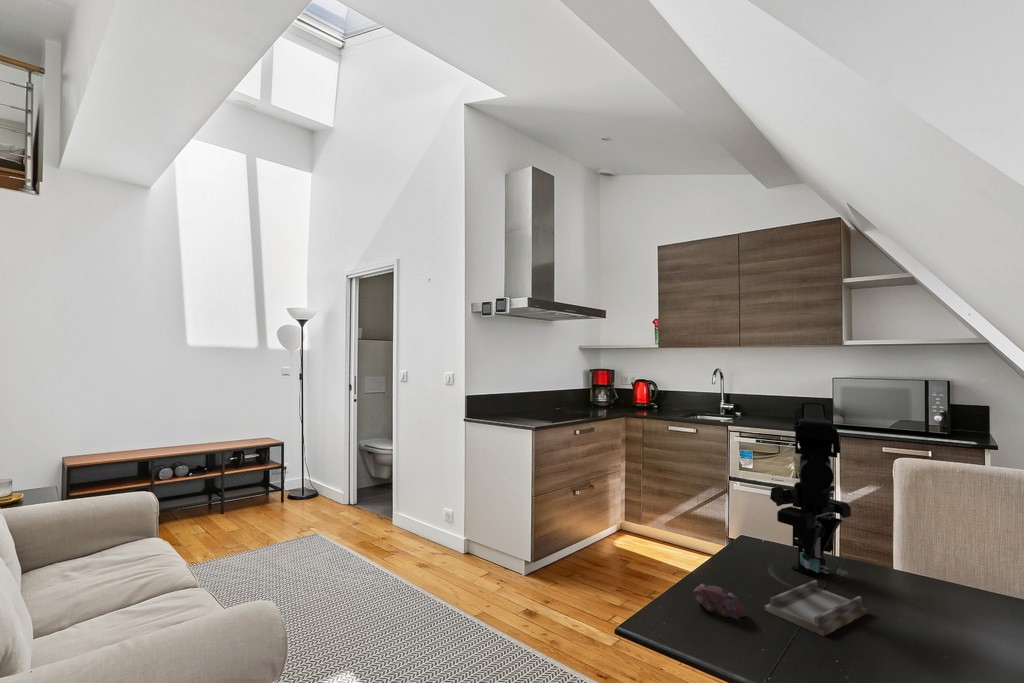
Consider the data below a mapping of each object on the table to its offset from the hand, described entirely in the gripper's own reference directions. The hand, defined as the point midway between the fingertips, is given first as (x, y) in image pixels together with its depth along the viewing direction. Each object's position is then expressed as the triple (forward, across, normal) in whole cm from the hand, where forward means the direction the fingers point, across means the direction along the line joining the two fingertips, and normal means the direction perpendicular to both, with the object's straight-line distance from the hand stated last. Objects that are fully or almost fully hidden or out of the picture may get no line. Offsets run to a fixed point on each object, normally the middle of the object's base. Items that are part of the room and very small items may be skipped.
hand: (814, 552), depth 112 cm
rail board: (+12, 0, 0) cm, 12 cm away
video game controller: (+13, +19, -10) cm, 25 cm away
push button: (+4, 0, 0) cm, 4 cm away
